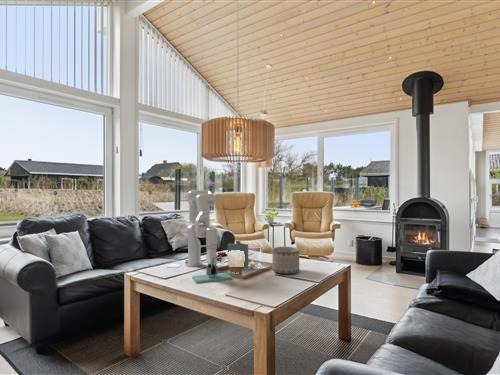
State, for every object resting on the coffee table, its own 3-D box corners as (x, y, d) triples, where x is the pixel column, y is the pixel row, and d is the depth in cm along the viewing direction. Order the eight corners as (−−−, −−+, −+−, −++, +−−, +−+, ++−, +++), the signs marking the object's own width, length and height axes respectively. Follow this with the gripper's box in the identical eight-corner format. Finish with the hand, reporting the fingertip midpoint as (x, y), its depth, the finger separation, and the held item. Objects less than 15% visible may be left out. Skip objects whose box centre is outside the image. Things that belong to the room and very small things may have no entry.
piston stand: (192, 278, 218) (192, 268, 218) (226, 274, 227) (226, 265, 227) (196, 283, 207) (196, 273, 207) (231, 279, 216) (231, 269, 216)
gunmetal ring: (205, 272, 219) (205, 265, 219) (215, 271, 222) (215, 264, 222) (207, 275, 212) (207, 268, 212) (218, 274, 215) (218, 267, 215)
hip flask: (227, 267, 247) (227, 241, 247) (228, 265, 251) (228, 240, 251) (247, 267, 245) (247, 241, 245) (248, 266, 249) (248, 240, 249)
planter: (298, 268, 242) (298, 246, 242) (300, 276, 223) (300, 252, 223) (272, 268, 244) (272, 246, 244) (272, 275, 225) (272, 251, 224)
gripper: (203, 244, 223) (203, 269, 223) (209, 249, 207) (209, 276, 207) (213, 243, 226) (213, 268, 226) (220, 248, 210) (221, 275, 210)
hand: (211, 272), depth 217 cm, fingers closed on gunmetal ring, 7 cm apart
